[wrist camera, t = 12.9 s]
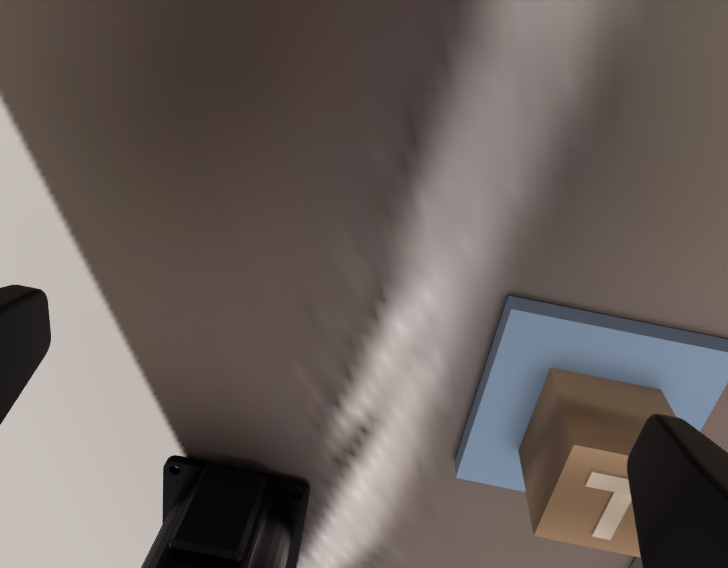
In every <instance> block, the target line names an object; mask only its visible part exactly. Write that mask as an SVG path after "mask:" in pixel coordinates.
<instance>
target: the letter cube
mask: <svg viewBox="0 0 728 568" xmlns="http://www.w3.org/2000/svg"><path fill="white" fill-rule="evenodd" d="M655 413H658V414H663V415H668V416H673V417H676V415H675V414H674V412H673V410H672V408H671V406H670V405H669V403H668V401H667V399H666V398H665V396H664V394H663V392H662V390H661V389H656V388H651V387H646V386H641V385H636V384H631V383H626V382H621V381H616V380H611V379H606V378H601V377H596V376H591V375H586V374H581V373H576V372H571V371H566V370H561V369H556V368H551V367H550V369H549V372H548V375H547V377H546V380H545V382H544V385H543V388H542V390H541V393H540V395H539V398H538V401H537V403H536V406H535V408H534V411H533V413H532V416H531V419H530V421H529V424H528V426H527V429H526V432H525V434H524V437H523V439H522V442H521V445H520V447H519V450H518V452H519V458H520V463H521V468H522V474H523V479H524V485H525V490H526V496H527V501H528V507H529V512H530V518H531V523H532V529H533V534H534V536H538V537H542V538H547V539H552V540H557V541H562V542H567V543H572V544H577V545H582V546H586V547H591V548H596V549H601V550H606V551H611V552H616V553H621V554H625V555H630V556H635V557H640V551H639V545H638V538H637V532H636V526H635V519H634V513H633V507H632V500H631V494H630V488H629V481H628V475H627V460H628V456H629V453H630V451H631V449H632V447H633V445H634V443H635V441H636V439H637V437H638V435H639V433H640V431H641V429H642V427H643V425H644V423H645V421H646V420H647V418H648V417H649V416H650V415H653V414H655ZM640 558H641V557H640Z"/></svg>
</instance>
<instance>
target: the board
mask: <svg viewBox="0 0 728 568" xmlns="http://www.w3.org/2000/svg"><path fill="white" fill-rule="evenodd" d="M550 367H551V368H556V369H561V370H566V371H571V372H576V373H581V374H586V375H591V376H596V377H601V378H606V379H611V380H616V381H621V382H626V383H631V384H636V385H641V386H646V387H651V388H656V389H661V390H662V392H663V394H664V396H665V398H666V399H667V401H668V403H669V405H670V406H671V408H672V410H673V412H674V414H675V415H676V417H678V418H681V419H683V420H685V421H686V422H688V423H689V424H690V425H692V426H693V427H694V428H696V429H697V430H698V431H700V430H701V429H702V427H703V425H704V423H705V422H706V420H707V418H708V416H709V415H710V413H711V411H712V409H713V408H714V406H715V404H716V402H717V400H718V399H719V397H720V395H721V393H722V392H723V390H724V388H725V386H726V385H727V383H728V339H724V338H719V337H714V336H709V335H704V334H699V333H694V332H689V331H684V330H679V329H674V328H669V327H664V326H659V325H654V324H649V323H644V322H639V321H634V320H629V319H624V318H619V317H613V316H608V315H603V314H598V313H593V312H588V311H583V310H578V309H573V308H568V307H563V306H558V305H553V304H548V303H543V302H538V301H533V300H528V299H523V298H518V297H513V296H508V297H507V301H506V304H505V307H504V310H503V313H502V316H501V319H500V322H499V325H498V328H497V331H496V335H495V338H494V341H493V344H492V347H491V350H490V353H489V356H488V359H487V362H486V365H485V369H484V372H483V375H482V378H481V381H480V384H479V387H478V390H477V393H476V396H475V399H474V403H473V406H472V409H471V412H470V415H469V418H468V421H467V424H466V427H465V430H464V433H463V437H462V440H461V443H460V446H459V449H458V452H457V455H456V458H455V473H456V478H460V479H465V480H469V481H474V482H479V483H484V484H489V485H494V486H499V487H504V488H508V489H513V490H518V491H523V492H526V490H525V485H524V479H523V474H522V468H521V463H520V458H519V452H518V450H519V447H520V445H521V442H522V439H523V437H524V434H525V432H526V429H527V426H528V424H529V421H530V419H531V416H532V413H533V411H534V408H535V406H536V403H537V401H538V398H539V395H540V393H541V390H542V388H543V385H544V382H545V380H546V377H547V375H548V372H549V369H550Z"/></svg>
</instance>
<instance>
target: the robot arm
mask: <svg viewBox="0 0 728 568" xmlns="http://www.w3.org/2000/svg"><path fill="white" fill-rule="evenodd" d="M50 342H51V331H50V320H49V310H48V300H47V296H46V294H45V293H44V292H43V291H42V290H40V289H36V288H31V287H26V286H21V285H10V286H6V287H2V288H0V424H1V423H2V421H3V420H4V418H5V417H6V415H7V413H8V412H9V411H10V409H11V407H12V406H13V404H14V403H15V401H16V400H17V398H18V397H19V395H20V394H21V392H22V390H23V389H24V387H25V386H26V384H27V383H28V381H29V380H30V378H31V377H32V375H33V373H34V372H35V370H36V369H37V367H38V366H39V364H40V363H41V361H42V360H43V358H44V357H45V355H46V353H47V351H48V349H49V346H50ZM176 467H178V468H176ZM163 471H164V472H163V525H162V527H161V529H160V531H159V533H158V535H157V537H156V539H155V541H154V543H153V545H152V547H151V549H150V551H149V553H148V555H147V557H146V559H145V561H144V563H143V565H142V567H141V568H297V563H298V557H299V552H300V546H301V540H302V534H303V529H304V523H305V517H306V512H307V506H308V500H309V495H310V487H309V486H308V484H306V483H305V482H302V481H299V480H294V479H289V478H285V477H280V476H275V475H270V474H265V473H260V472H255V471H250V470H246V469H241V468H236V467H231V466H226V465H221V464H216V463H212V462H207V461H202V460H197V459H192V458H187V457H182V456H175V455H174V456H171V457H169V458H168V460H167V461H166V463H165V465H164V469H163ZM627 475H628V481H629V488H630V494H631V500H632V507H633V513H634V519H635V526H636V532H637V538H638V545H639V551H640V557H641V562H642V567H643V568H728V453H727V452H726V451H725V450H723V449H722V448H721V447H719V446H718V445H717V444H715V443H714V442H713V441H711V440H710V439H709V438H707V437H706V436H705V435H704V434H702V433H701V432H700V431H698V430H697V429H696V428H694V427H693V426H692V425H690V424H689V423H688V422H686V421H685V420H683V419H681V418H678V417H673V416H668V415H663V414H658V413H655V414H653V415H650V416H649V417H648V418H647V420H646V421H645V423H644V425H643V427H642V429H641V431H640V433H639V435H638V437H637V439H636V441H635V443H634V445H633V447H632V449H631V451H630V453H629V456H628V460H627ZM297 492H300V493H297Z"/></svg>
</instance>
